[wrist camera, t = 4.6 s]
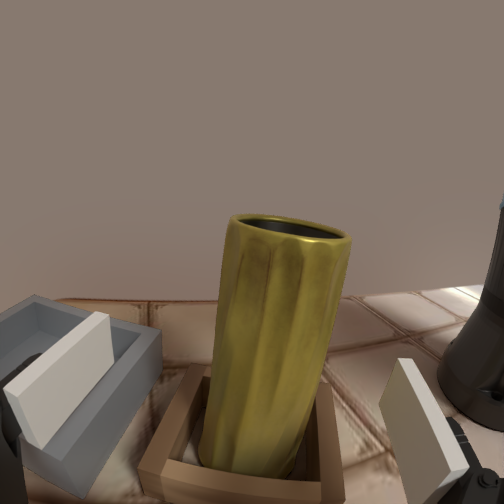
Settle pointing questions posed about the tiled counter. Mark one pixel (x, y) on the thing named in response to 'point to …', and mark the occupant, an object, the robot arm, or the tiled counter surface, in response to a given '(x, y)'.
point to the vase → (270, 340)
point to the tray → (96, 401)
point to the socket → (230, 484)
